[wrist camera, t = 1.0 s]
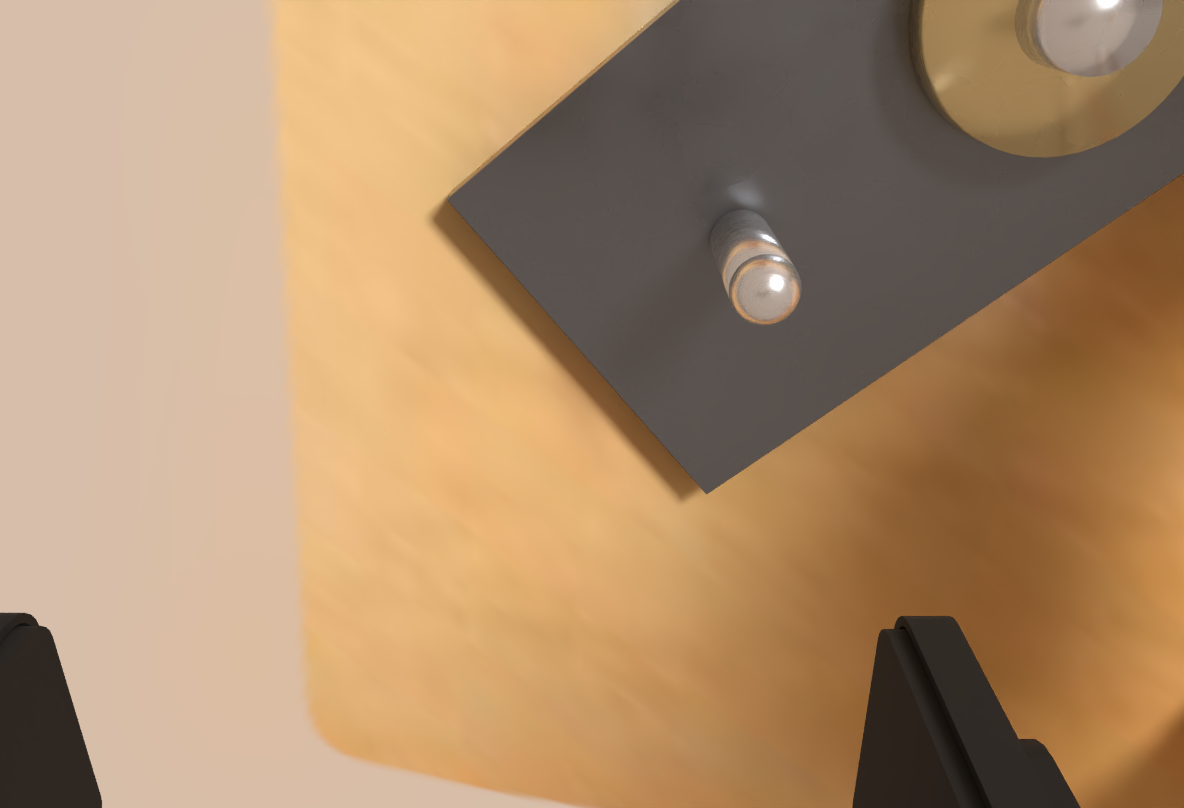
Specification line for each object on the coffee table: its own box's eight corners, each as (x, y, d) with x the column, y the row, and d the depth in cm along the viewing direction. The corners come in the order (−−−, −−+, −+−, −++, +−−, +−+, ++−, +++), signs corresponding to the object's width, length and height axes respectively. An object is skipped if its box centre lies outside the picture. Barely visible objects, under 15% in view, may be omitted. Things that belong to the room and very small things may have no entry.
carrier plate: (1123, -385, 25) (1306, -501, 19) (1327, 53, 30) (1530, 82, 23) (451, 191, 32) (414, 252, 25) (703, 478, 36) (726, 592, 30)
